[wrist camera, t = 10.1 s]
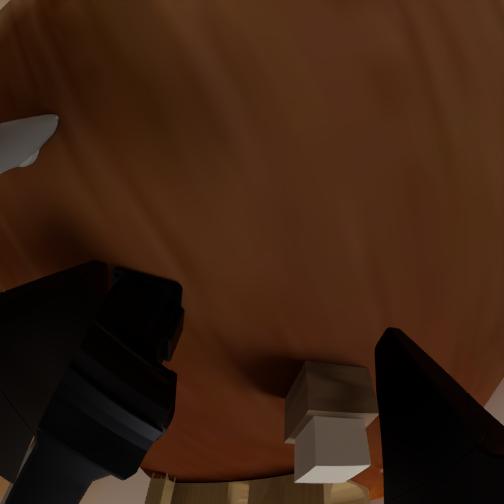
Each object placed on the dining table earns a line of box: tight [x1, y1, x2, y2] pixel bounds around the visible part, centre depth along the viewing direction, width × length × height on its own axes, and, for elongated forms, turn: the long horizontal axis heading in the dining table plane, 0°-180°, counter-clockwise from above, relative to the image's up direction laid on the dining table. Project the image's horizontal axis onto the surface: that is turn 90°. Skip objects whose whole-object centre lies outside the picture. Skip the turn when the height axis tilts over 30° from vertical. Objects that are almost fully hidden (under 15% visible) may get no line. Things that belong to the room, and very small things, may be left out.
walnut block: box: [284, 360, 379, 444], centre depth 25 cm, size 7×7×6 cm
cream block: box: [294, 416, 371, 483], centre depth 20 cm, size 5×5×5 cm
